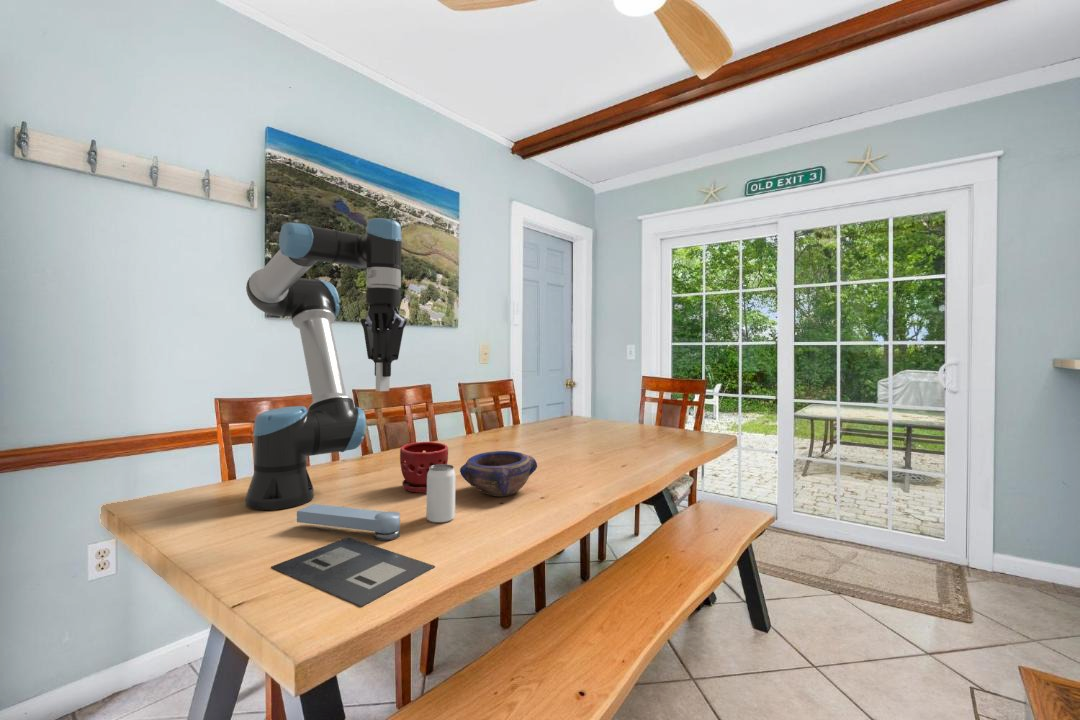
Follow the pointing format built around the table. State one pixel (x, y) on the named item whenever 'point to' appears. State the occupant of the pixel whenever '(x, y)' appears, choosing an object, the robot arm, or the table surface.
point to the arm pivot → (387, 536)
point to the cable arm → (350, 518)
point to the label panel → (354, 570)
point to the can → (441, 493)
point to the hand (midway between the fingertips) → (382, 390)
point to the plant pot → (420, 463)
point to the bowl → (498, 472)
